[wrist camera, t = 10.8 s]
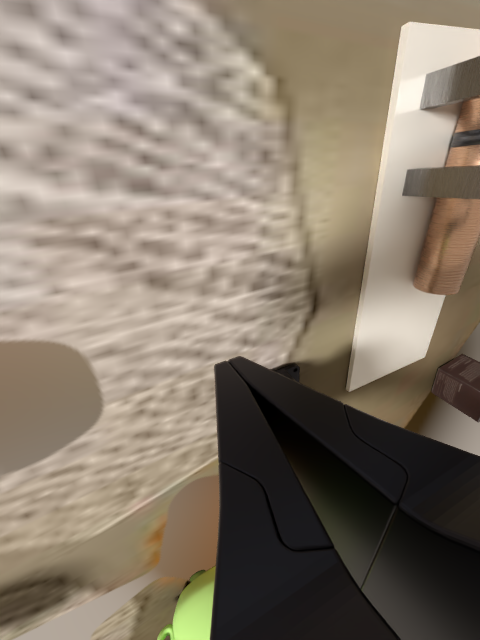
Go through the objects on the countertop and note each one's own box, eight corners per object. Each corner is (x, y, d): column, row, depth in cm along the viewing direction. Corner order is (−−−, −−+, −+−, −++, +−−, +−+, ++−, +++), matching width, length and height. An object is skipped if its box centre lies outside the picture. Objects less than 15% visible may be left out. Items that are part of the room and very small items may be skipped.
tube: (421, 277, 30) (465, 286, 27) (405, 287, 28) (451, 298, 25) (482, 65, 21) (557, 46, 18) (466, 57, 19) (548, 34, 16)
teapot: (286, 516, 43) (343, 624, 33) (276, 559, 50) (321, 660, 40) (147, 586, 35) (164, 761, 24) (158, 627, 42) (174, 778, 31)
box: (429, 392, 46) (477, 423, 40) (437, 367, 42) (490, 397, 36) (453, 377, 47) (502, 406, 41) (462, 352, 44) (517, 379, 38)
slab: (420, 354, 38) (424, 357, 38) (345, 388, 34) (349, 391, 33) (522, 38, 22) (532, 35, 21) (401, 26, 17) (410, 21, 17)
